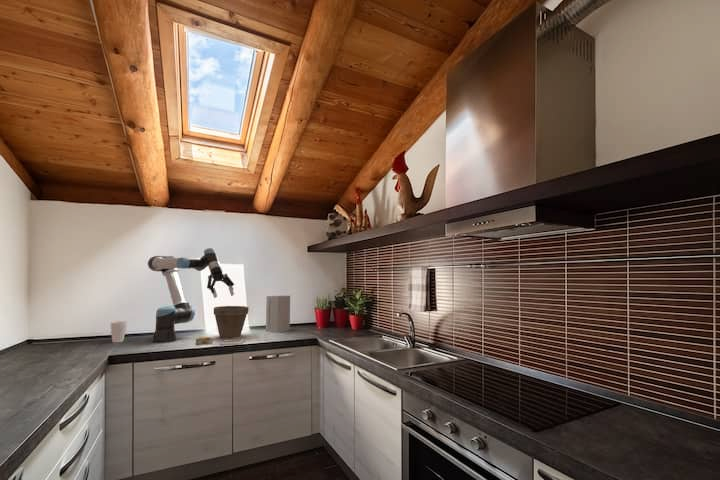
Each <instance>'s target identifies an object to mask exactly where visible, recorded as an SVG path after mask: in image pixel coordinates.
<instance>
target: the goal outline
mask: <svg viewBox="0 0 720 480" xmlns="http://www.w3.org/2000/svg"><path fill="white" fill-rule="evenodd" d="M223 342H224V343H223ZM223 342H221V343H219V346H231V345H233V346H234V345H235V346H237V345H241V346H242V344H243V343H245V342H246V340H245V339H224V340H223ZM226 342H227V343H226Z"/></svg>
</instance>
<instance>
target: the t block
mask: <svg viewBox="0 0 720 480" xmlns="http://www.w3.org/2000/svg"><path fill="white" fill-rule="evenodd" d="M213 342H214V341H213V336H199V337H197V338H195V346H200V345H208V344H209V345H212V344H213Z"/></svg>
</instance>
